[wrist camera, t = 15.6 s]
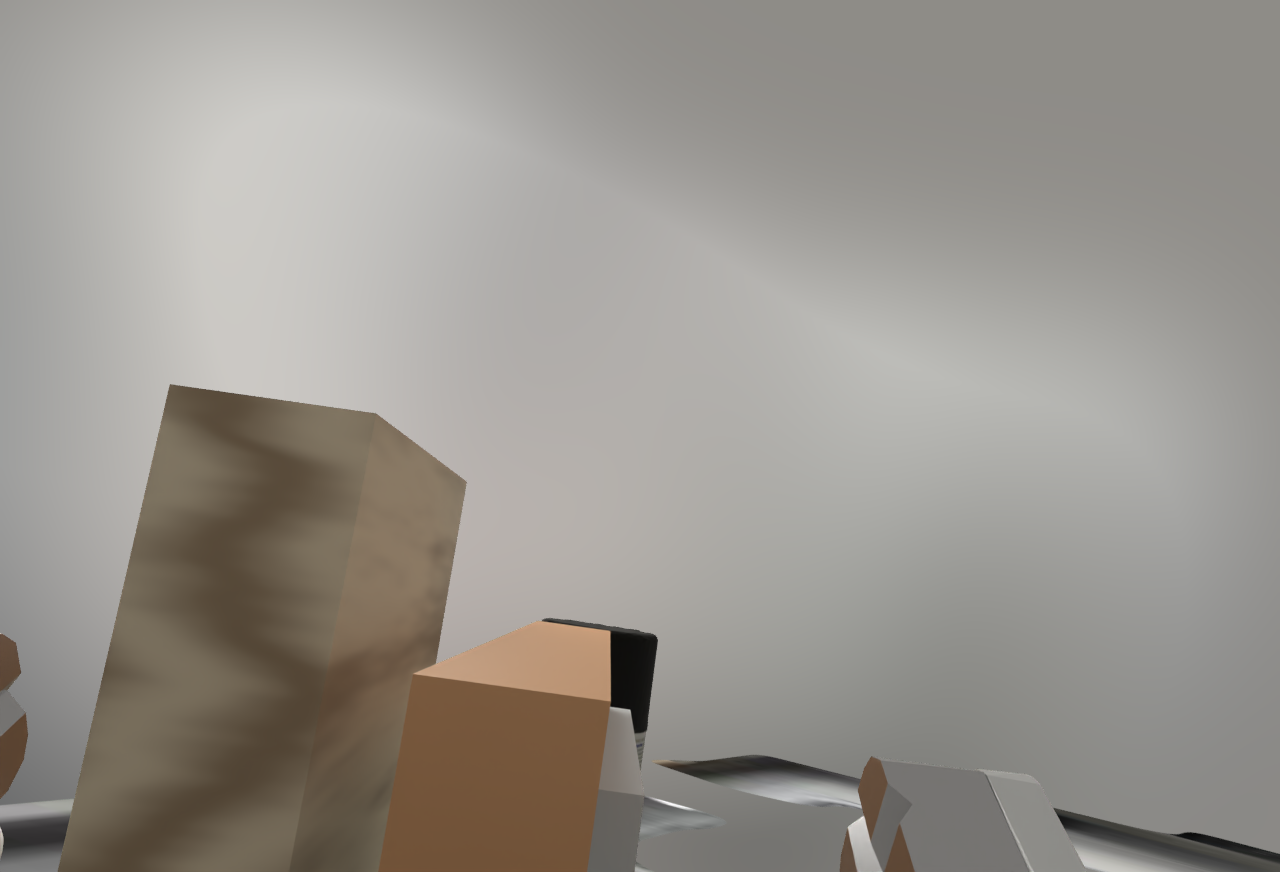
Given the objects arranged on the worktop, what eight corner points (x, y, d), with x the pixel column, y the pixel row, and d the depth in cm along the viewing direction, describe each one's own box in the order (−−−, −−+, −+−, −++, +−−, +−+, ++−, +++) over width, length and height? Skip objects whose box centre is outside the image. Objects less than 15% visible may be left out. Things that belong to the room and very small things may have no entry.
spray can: (536, 981, 52) (589, 620, 55) (632, 1029, 48) (682, 636, 51) (447, 1013, 46) (511, 613, 50) (546, 1070, 42) (608, 630, 46)
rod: (376, 884, 14) (412, 673, 15) (526, 695, 40) (537, 620, 40) (581, 913, 14) (610, 701, 15) (599, 705, 40) (610, 630, 40)
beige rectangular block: (-70, 1425, 22) (169, 384, 27) (222, 1066, 39) (340, 464, 43) (177, 1457, 22) (376, 413, 27) (363, 1086, 39) (466, 481, 43)
